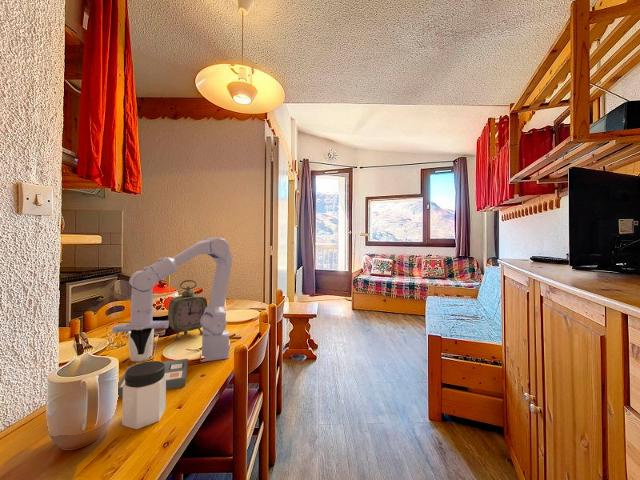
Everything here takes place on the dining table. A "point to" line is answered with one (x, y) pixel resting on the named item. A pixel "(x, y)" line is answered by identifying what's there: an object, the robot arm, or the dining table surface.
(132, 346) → the white cup
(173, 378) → the button board
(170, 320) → the tabletop clock
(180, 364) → the button
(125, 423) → the jar
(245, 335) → the dining table surface
